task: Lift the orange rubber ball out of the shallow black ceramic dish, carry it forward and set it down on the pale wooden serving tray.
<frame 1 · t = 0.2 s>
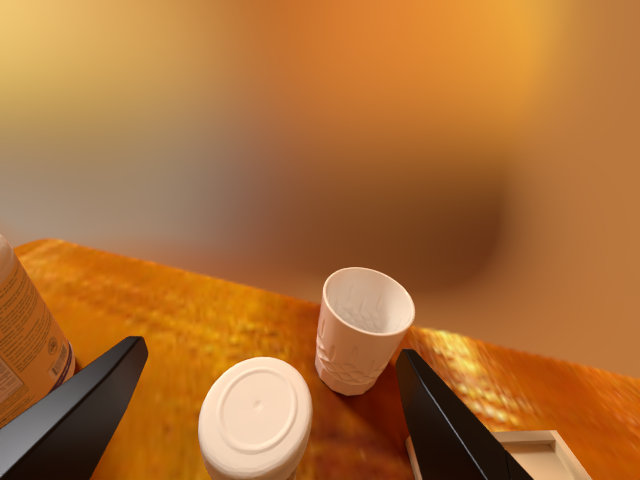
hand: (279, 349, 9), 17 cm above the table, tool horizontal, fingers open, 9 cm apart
white cup: (345, 364, 27), on the table
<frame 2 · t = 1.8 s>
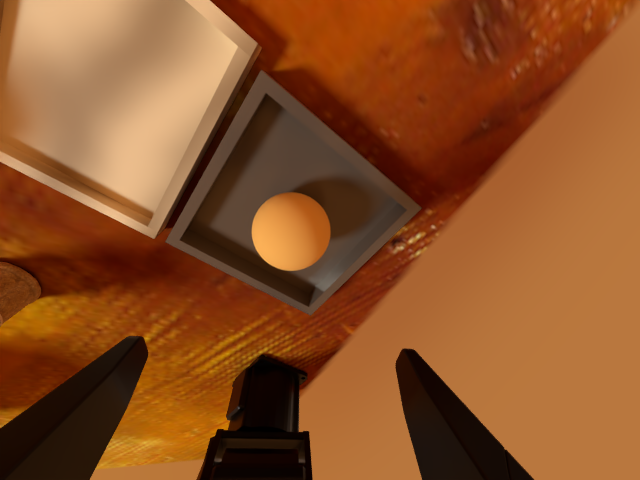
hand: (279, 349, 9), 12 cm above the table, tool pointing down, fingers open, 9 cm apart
tray: (115, 92, 14), on the table
dish: (293, 211, 19), on the table
ball: (293, 215, 18), point 1 cm above the table, touching dish
sprinkles bottle: (14, 279, 21), on the table
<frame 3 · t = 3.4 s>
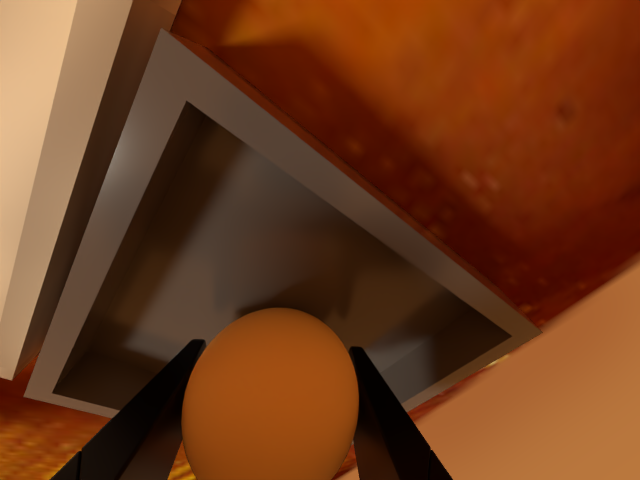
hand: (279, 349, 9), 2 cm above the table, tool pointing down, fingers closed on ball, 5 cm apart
dish: (283, 314, 10), on the table
ball: (282, 326, 10), point 1 cm above the table, touching dish, gripper
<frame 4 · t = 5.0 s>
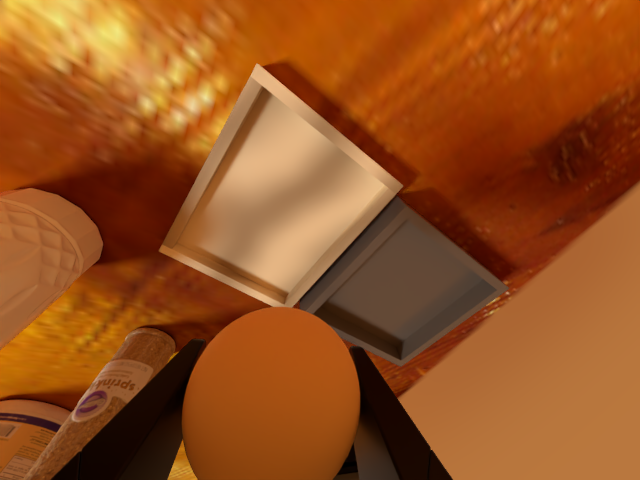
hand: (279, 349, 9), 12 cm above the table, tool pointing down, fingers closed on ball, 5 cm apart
white cup: (56, 230, 19), on the table
tray: (277, 211, 19), on the table
dish: (395, 285, 23), on the table
ball: (282, 325, 10), point 11 cm above the table, touching gripper
sprinkles bottle: (154, 339, 25), on the table
supplement tub: (42, 420, 31), on the table
when the fingers open (3 cm above the table, at t = 6.9 s): ball drops 2 cm, resting on tray.
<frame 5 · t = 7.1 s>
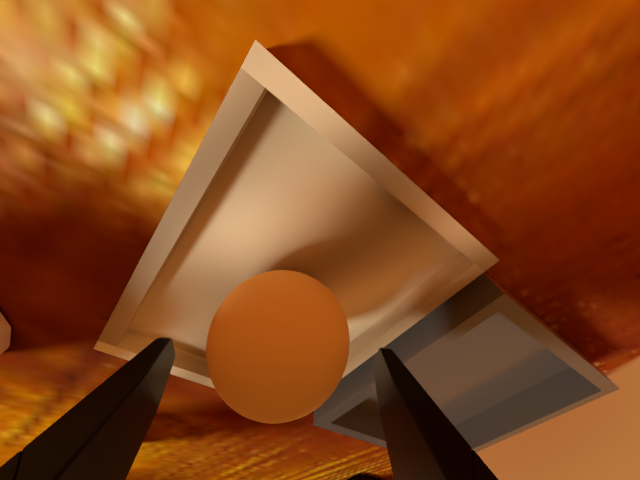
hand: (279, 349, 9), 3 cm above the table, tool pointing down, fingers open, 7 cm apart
tray: (285, 284, 12), on the table
dish: (446, 370, 16), on the table
ball: (285, 291, 11), point 1 cm above the table, touching tray
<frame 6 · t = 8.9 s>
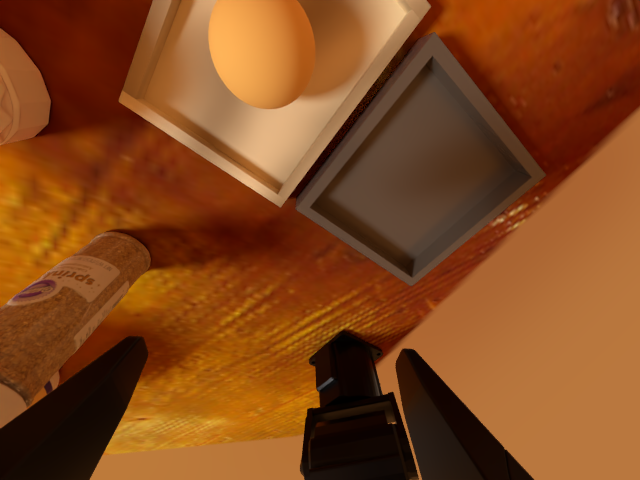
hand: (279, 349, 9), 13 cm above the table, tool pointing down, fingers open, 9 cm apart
tray: (269, 59, 15), on the table
dish: (408, 182, 19), on the table
ball: (269, 57, 14), point 1 cm above the table, touching tray
sprinkles bottle: (125, 251, 21), on the table
supplement tub: (4, 359, 28), on the table
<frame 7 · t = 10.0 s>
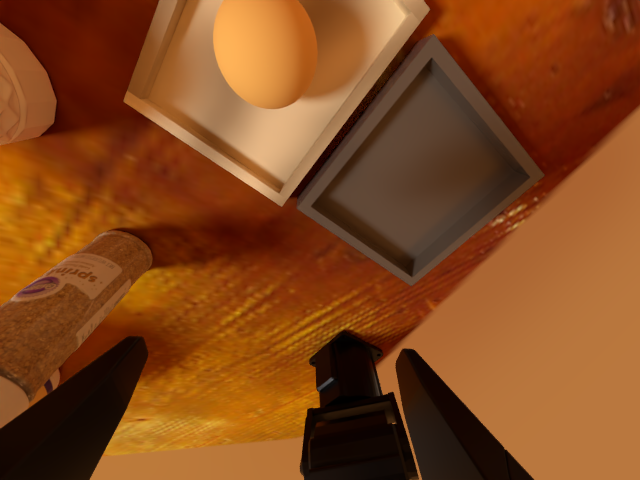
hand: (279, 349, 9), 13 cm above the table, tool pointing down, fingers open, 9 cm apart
tray: (272, 60, 15), on the table
dish: (408, 182, 20), on the table
ball: (271, 58, 15), point 1 cm above the table, touching tray
sprinkles bottle: (127, 250, 22), on the table
supplement tub: (4, 358, 28), on the table
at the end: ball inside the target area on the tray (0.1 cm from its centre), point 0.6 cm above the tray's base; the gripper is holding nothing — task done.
